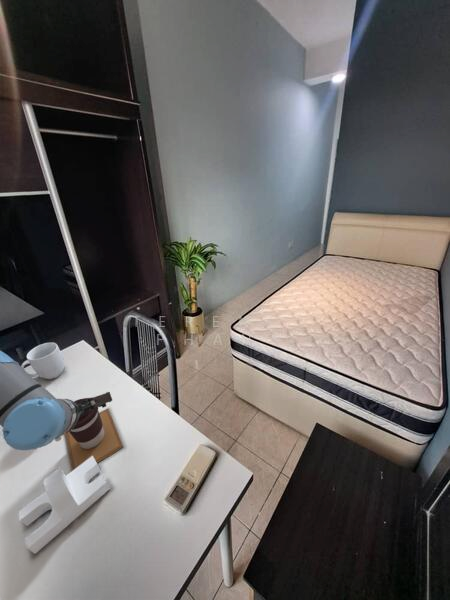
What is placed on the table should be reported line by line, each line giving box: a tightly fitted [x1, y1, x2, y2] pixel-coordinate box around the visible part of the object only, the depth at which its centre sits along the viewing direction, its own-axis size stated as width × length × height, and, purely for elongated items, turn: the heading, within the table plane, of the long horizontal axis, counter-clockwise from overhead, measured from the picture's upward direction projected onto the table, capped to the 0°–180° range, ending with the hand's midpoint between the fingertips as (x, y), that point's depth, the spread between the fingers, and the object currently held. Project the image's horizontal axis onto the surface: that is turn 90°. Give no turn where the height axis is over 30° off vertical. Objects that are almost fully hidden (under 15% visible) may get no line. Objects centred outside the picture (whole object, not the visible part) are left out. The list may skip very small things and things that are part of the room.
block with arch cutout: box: [18, 456, 111, 555], centre depth 62 cm, size 18×10×11 cm, turn 136°
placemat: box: [65, 408, 124, 471], centre depth 80 cm, size 18×14×1 cm
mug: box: [20, 342, 65, 380], centre depth 104 cm, size 15×11×13 cm
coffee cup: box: [69, 397, 104, 449], centre depth 77 cm, size 10×10×15 cm
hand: (75, 413), depth 70 cm, fingers open, 13 cm apart
